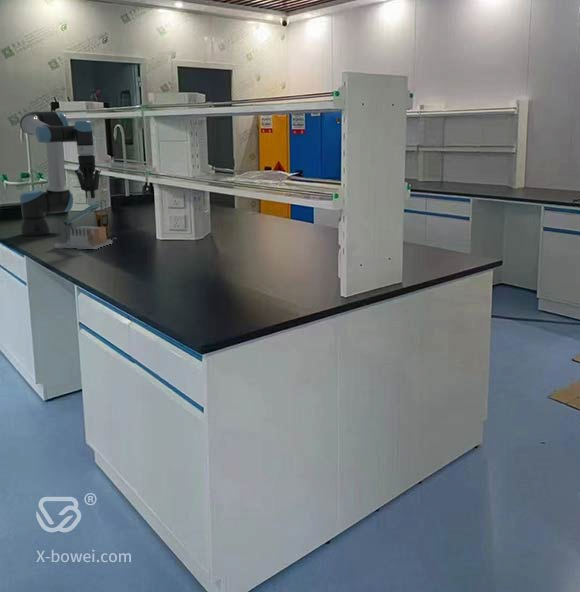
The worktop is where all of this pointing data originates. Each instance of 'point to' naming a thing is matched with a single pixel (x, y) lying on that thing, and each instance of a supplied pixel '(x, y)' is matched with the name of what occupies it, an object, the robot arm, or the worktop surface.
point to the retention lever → (82, 214)
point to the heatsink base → (83, 237)
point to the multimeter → (103, 221)
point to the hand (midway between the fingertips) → (91, 205)
